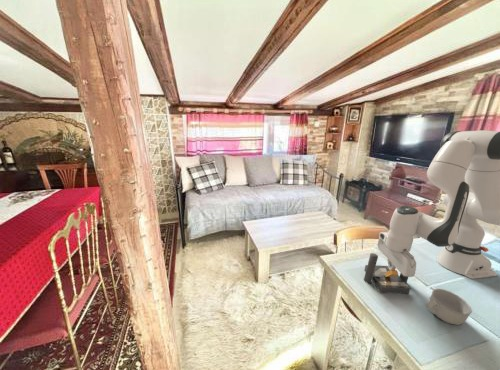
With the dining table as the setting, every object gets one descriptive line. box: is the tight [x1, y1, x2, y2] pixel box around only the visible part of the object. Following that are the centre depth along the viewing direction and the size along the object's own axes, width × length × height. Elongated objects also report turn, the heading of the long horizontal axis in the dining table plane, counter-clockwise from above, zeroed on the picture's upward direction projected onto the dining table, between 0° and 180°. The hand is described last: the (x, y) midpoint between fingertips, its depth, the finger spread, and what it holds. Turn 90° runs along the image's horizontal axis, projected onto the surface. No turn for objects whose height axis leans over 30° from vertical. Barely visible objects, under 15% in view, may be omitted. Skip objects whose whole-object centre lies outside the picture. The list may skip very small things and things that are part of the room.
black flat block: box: [364, 264, 411, 295], centre depth 93 cm, size 12×14×3 cm
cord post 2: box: [399, 272, 409, 284], centre depth 91 cm, size 3×3×14 cm
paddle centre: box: [384, 269, 399, 277], centre depth 90 cm, size 2×2×7 cm
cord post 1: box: [363, 252, 379, 284], centre depth 92 cm, size 3×3×14 cm
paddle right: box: [374, 268, 387, 277], centre depth 90 cm, size 2×2×7 cm
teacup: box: [426, 288, 473, 326], centre depth 76 cm, size 14×11×8 cm
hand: (391, 269), depth 89 cm, fingers closed
